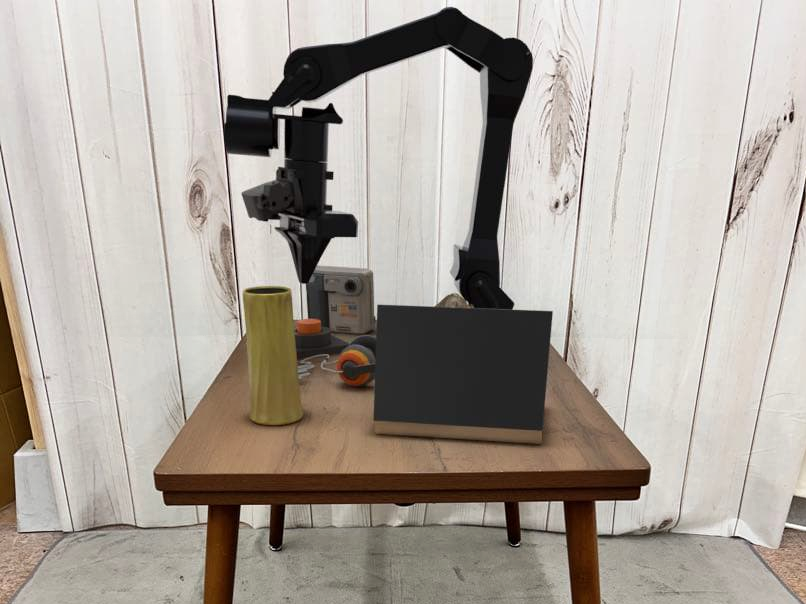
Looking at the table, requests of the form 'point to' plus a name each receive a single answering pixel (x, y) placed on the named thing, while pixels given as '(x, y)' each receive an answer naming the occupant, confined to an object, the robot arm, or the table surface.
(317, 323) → the power button
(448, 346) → the black flat panel
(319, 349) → the dock
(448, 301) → the fossilized seashell
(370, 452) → the table surface
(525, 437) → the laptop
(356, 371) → the headphones
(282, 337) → the vase
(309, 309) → the camera
